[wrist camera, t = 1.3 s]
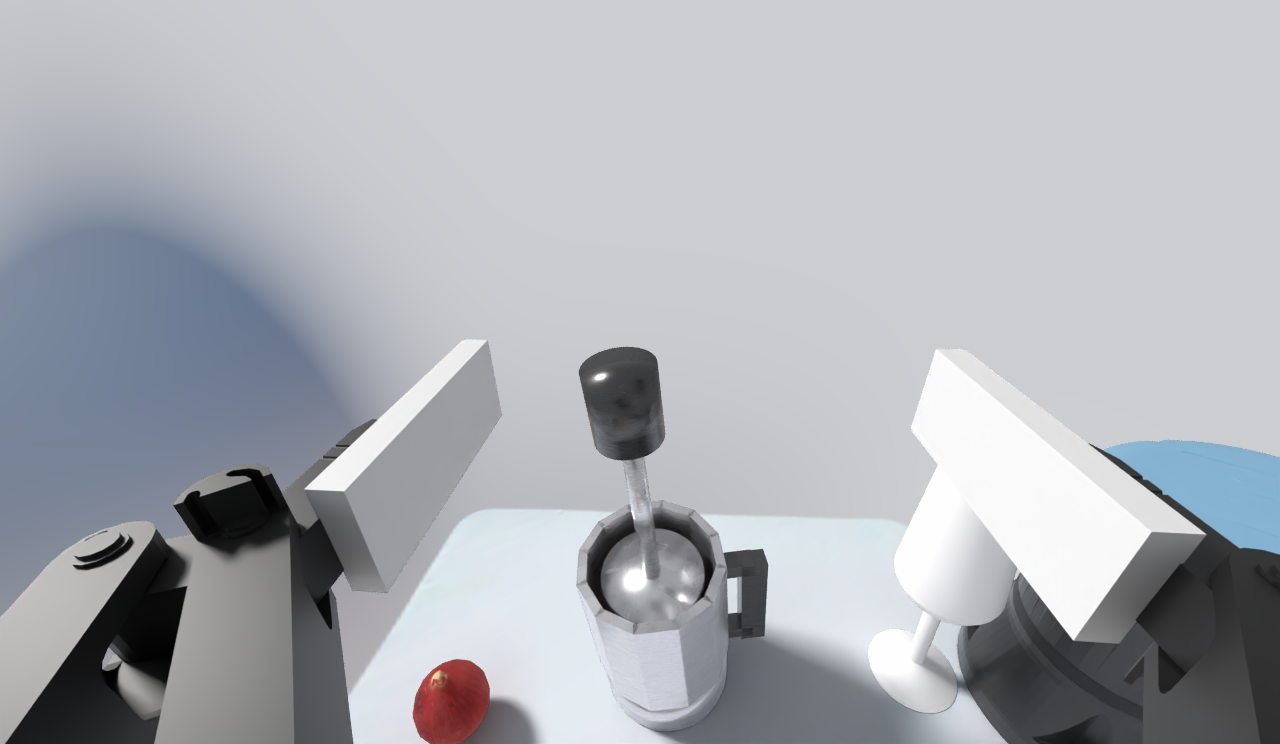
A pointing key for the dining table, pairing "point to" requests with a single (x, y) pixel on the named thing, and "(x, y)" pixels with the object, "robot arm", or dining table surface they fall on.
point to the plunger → (638, 489)
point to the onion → (451, 702)
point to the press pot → (672, 623)
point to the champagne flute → (940, 595)
